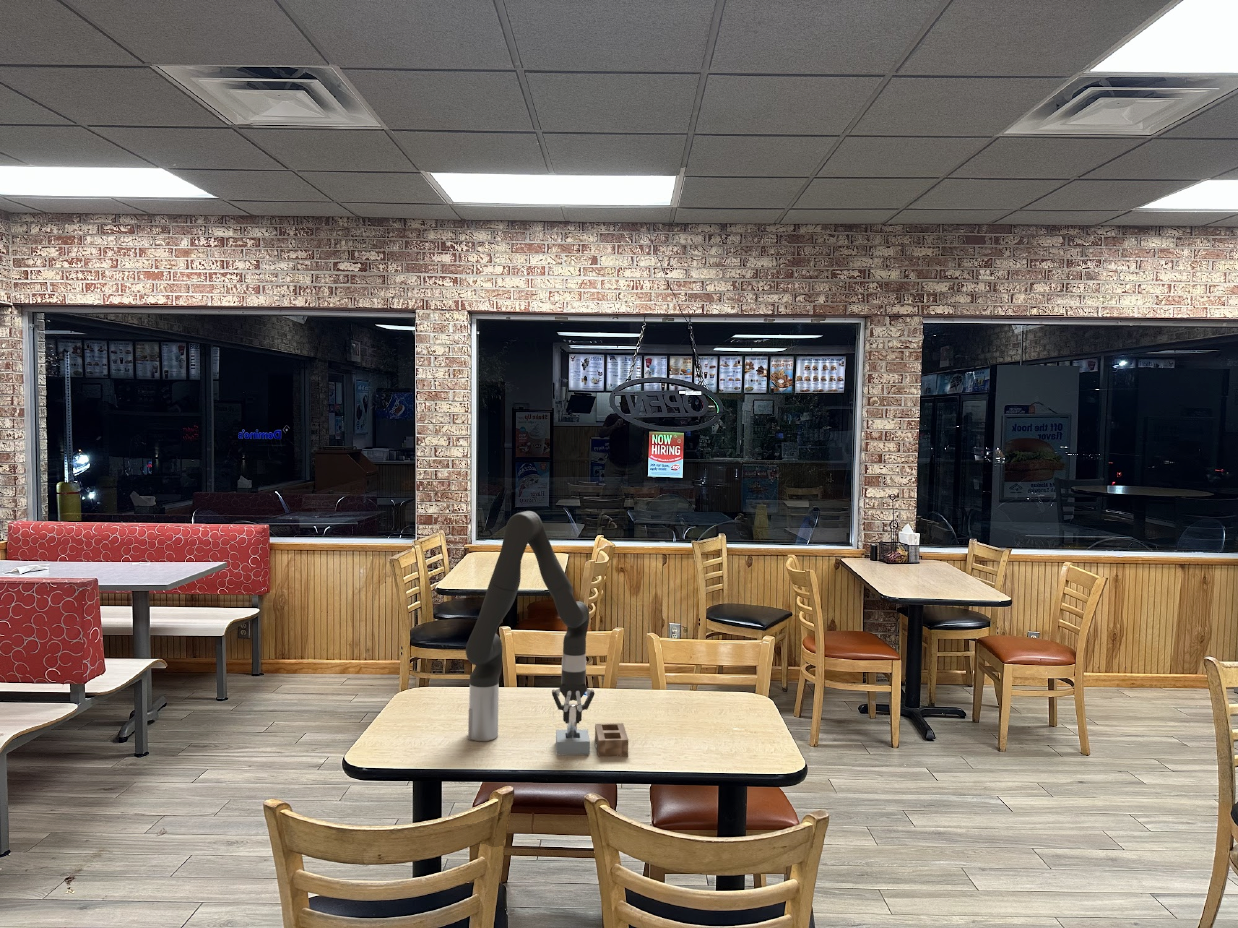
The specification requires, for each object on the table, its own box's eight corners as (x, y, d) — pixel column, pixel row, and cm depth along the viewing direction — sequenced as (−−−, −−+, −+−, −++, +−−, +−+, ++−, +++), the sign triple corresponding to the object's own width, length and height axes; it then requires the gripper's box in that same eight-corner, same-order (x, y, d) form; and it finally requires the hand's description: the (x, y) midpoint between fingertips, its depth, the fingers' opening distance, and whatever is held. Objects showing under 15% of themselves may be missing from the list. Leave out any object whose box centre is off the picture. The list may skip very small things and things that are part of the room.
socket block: (556, 754, 238) (557, 741, 238) (555, 742, 248) (556, 729, 247) (589, 754, 239) (589, 741, 239) (587, 741, 249) (587, 729, 249)
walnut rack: (598, 756, 237) (598, 740, 237) (594, 739, 251) (595, 723, 251) (628, 755, 238) (628, 739, 238) (622, 738, 252) (623, 722, 252)
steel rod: (567, 738, 242) (568, 706, 241) (566, 735, 245) (567, 703, 244) (576, 738, 242) (577, 706, 242) (576, 735, 245) (577, 703, 245)
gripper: (551, 671, 238) (549, 727, 239) (597, 670, 240) (595, 726, 240) (550, 663, 245) (549, 718, 246) (595, 663, 247) (593, 717, 248)
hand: (572, 722), depth 243 cm, fingers closed on steel rod, 3 cm apart
